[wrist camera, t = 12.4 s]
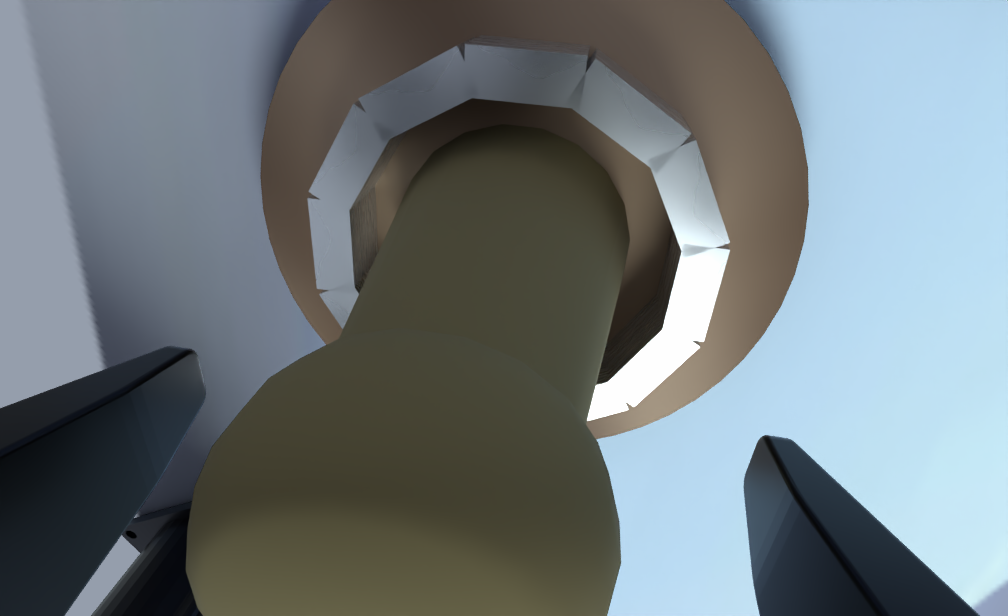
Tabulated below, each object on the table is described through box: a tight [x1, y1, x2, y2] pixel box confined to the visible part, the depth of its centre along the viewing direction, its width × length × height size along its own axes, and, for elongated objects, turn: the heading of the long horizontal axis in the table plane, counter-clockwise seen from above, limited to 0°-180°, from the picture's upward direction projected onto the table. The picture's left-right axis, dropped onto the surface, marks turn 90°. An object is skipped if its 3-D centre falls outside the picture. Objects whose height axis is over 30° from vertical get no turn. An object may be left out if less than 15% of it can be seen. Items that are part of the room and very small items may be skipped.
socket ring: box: [307, 35, 730, 421], centre depth 15 cm, size 10×10×2 cm
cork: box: [186, 124, 630, 616], centre depth 11 cm, size 6×6×11 cm
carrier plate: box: [261, 0, 809, 439], centre depth 16 cm, size 14×14×1 cm
